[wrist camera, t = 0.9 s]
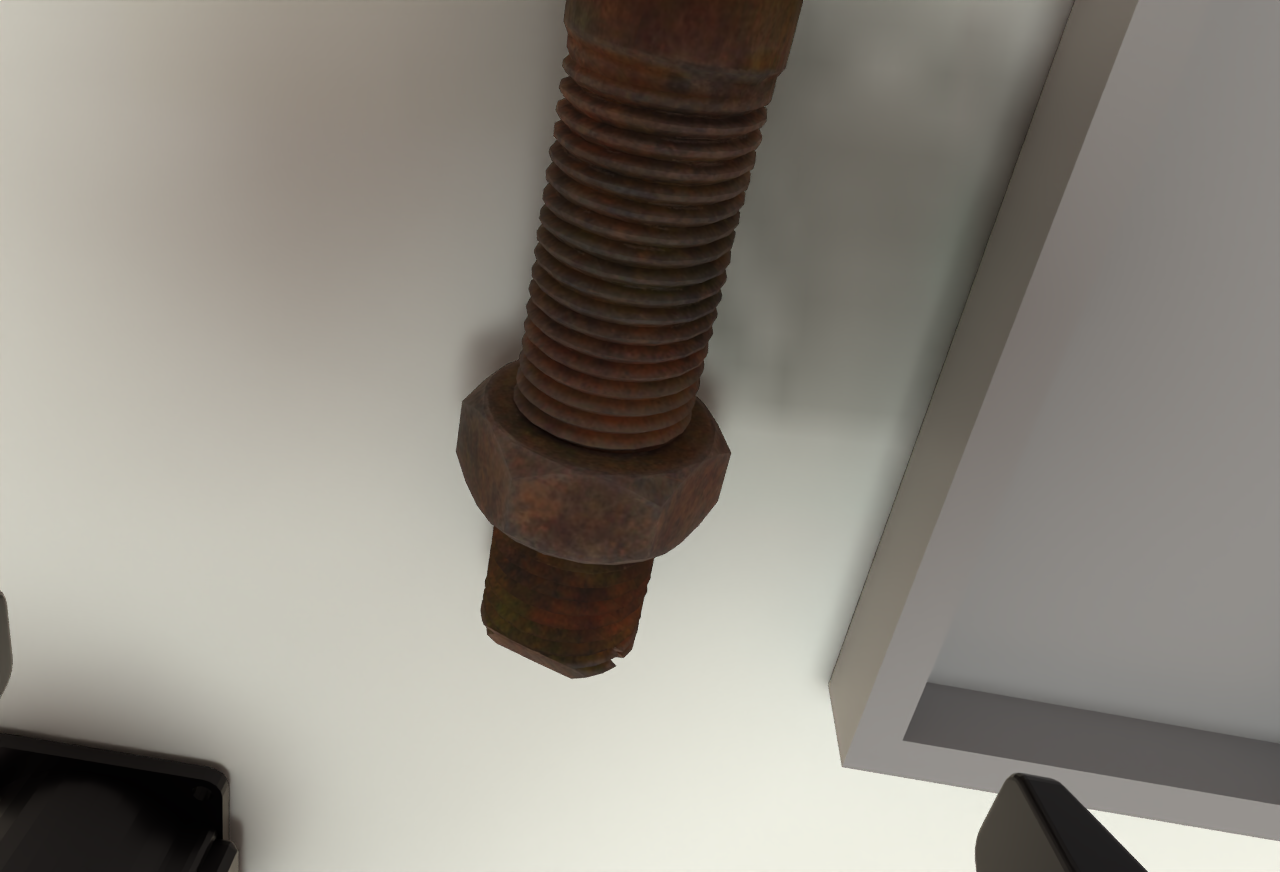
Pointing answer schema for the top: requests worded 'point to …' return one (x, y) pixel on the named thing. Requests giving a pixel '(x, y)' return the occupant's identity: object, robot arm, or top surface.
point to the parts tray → (1103, 451)
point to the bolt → (620, 322)
